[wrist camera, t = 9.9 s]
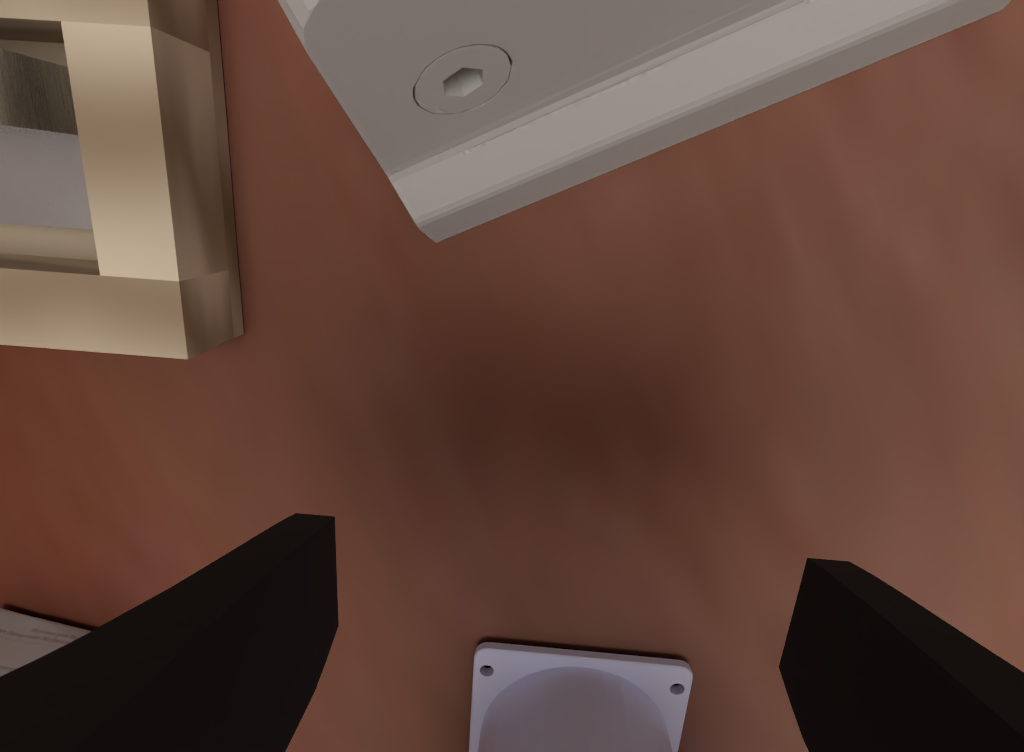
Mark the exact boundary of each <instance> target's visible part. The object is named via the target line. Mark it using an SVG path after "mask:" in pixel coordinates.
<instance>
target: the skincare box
mask: <svg viewBox="0 0 1024 752" xmlns="http://www.w3.org/2000/svg"><path fill="white" fill-rule="evenodd" d="M90 632H91V631H89V630H85V629H81V628H77V627H73V626H69V625H65V624H61V623H57V622H53V621H49V620H45V619H41V618H37V617H32V616H29V615H25V614H21V613H17V612H13V611H10V610H6V609H2V608H0V676H3V675H5V674H7V673H9V672H11V671H13V670H15V669H17V668H19V667H22V666H24V665H26V664H28V663H30V662H32V661H34V660H36V659H38V658H40V657H42V656H44V655H46V654H48V653H50V652H52V651H54V650H56V649H58V648H60V647H62V646H64V645H66V644H68V643H70V642H72V641H74V640H76V639H78V638H80V637H82V636H84V635H86V634H88V633H90Z"/></svg>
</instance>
